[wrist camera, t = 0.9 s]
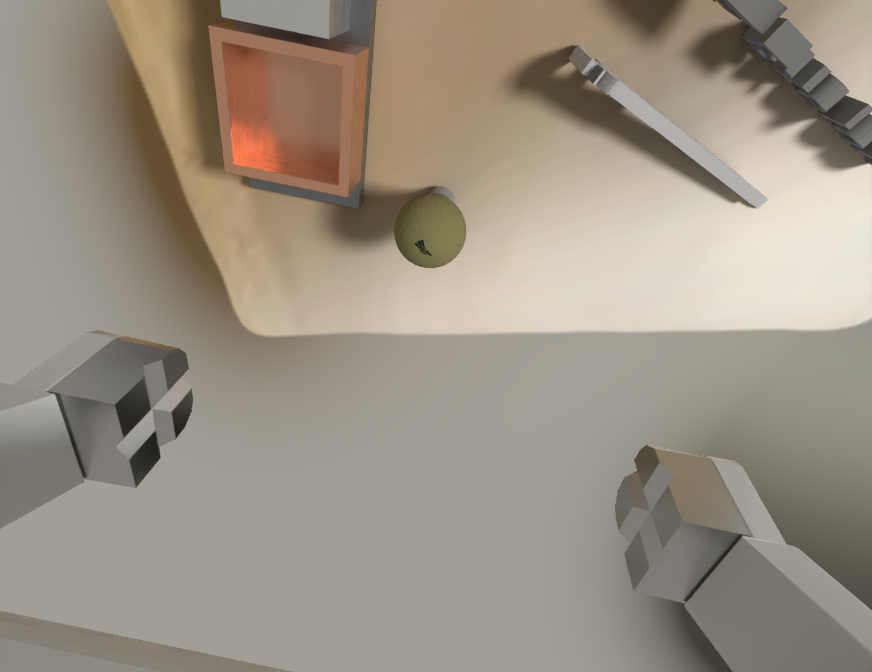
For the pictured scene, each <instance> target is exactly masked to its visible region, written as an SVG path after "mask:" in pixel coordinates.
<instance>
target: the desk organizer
mask: <svg viewBox="0 0 872 672" xmlns="http://www.w3.org/2000/svg"><path fill="white" fill-rule="evenodd" d="M376 1H377V0H220V4H221V14H222V17H224V18H229V19H234V20H232V21H227V22H222V23H217V24H212V25H208V28H209V36H210V45H211V54H212V63H213V71H214V80H215V89H216V98H217V106H218V115H219V124H220V132H221V141H222V150H223V159H224V167H225V172H227V173H232V174H237V175H242V176H246V177H248V178H249V187H254V188H259V189H264V190H269V191H274V192H278V193H283V194H288V195H293V196H298V197H303V198H308V199H313V200H317V201H322V202H327V203H332V204H337V205H342V206H347V207H352V208H356V209H359V208H360V206H361V204H362V203H363V191H364V176H365V162H366V147H367V133H368V118H369V103H370V89H371V74H372V60H373V45H374V31H375V16H376Z"/></svg>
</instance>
